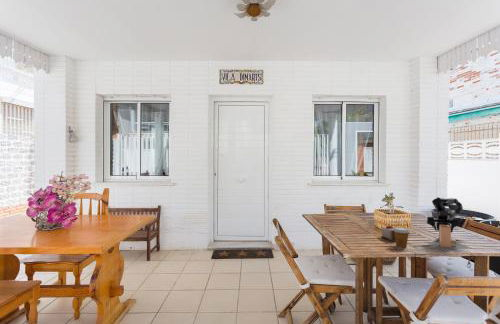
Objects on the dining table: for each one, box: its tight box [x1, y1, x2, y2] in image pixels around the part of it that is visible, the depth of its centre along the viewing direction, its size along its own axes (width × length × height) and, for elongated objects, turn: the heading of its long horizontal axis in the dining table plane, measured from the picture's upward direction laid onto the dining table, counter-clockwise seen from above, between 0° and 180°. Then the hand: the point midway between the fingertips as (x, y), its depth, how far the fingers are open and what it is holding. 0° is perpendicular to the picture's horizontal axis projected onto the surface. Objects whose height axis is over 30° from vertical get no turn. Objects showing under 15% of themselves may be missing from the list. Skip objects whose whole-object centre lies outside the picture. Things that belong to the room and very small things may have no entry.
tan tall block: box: [438, 224, 452, 248], centre depth 199 cm, size 6×6×14 cm
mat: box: [424, 241, 472, 250], centre depth 202 cm, size 22×17×1 cm
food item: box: [380, 225, 396, 242], centre depth 219 cm, size 14×8×10 cm, turn 11°
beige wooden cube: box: [451, 238, 457, 246], centre depth 200 cm, size 3×3×4 cm
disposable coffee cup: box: [393, 226, 410, 248], centre depth 201 cm, size 10×10×12 cm
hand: (444, 231), depth 201 cm, fingers open, 9 cm apart
